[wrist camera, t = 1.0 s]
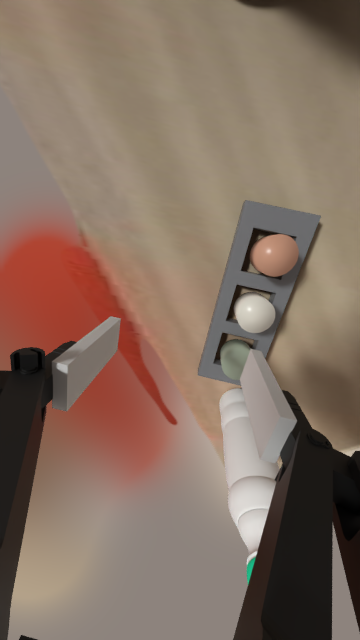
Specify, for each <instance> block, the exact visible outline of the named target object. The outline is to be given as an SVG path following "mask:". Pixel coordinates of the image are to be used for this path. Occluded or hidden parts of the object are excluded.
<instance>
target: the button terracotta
mask: <svg viewBox="0 0 360 640" xmlns="http://www.w3.org/2000/svg"><path fill="white" fill-rule="evenodd" d="M298 255H299V249H298V246H297V244H296V242H295V241H294V239H292V238H291V237H290V236H287V235H284V234H277V235H269V236H265V237H262V238H260V239H259V240H257V241H256V242H255V244H254V245H253V246H252V248H251V251H250V261H251V264H252V266H253V267H254V268H255V269H256V270H258V271H260V272H262V273H264V274H266V275H268V276H273V277H276V276H281V275H284V274H286V273H287V272H289V271H290V270H291V269H292V268H293V267H294V266H295V264H296V262H297V260H298Z"/></svg>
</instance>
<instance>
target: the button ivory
mask: <svg viewBox="0 0 360 640" xmlns="http://www.w3.org/2000/svg"><path fill="white" fill-rule="evenodd" d="M234 313H235V316H236V318H237V321H238V323H239V325H240V326H241V328H242V329H244V330H245V331H247V332H250V333H260V332H263V331H265V330H267V329H268V328H269V327H270V326H271V325H272V324H273V322H274V320H275V309H274V307H273V305H272V304H271V303H270V302H269V301H268V300H267V299H266V298H265V297H263V296H262V295H261V294H259V293H256V292H247V293H244V294H242V295H241V296H239V297H238V299H237V300H236V302H235V304H234Z"/></svg>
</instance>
